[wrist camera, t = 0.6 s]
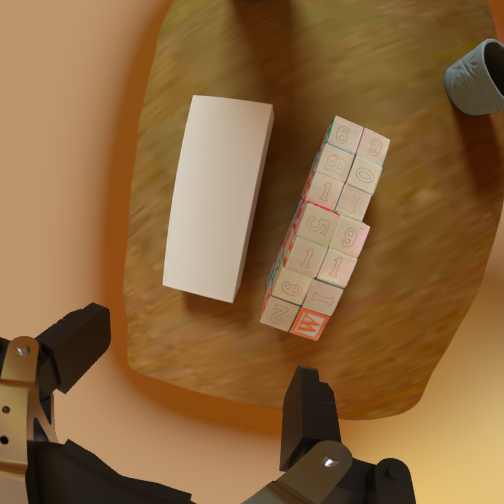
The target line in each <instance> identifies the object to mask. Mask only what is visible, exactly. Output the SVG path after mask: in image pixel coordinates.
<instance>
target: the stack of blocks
mask: <svg viewBox="0 0 504 504" xmlns="http://www.w3.org/2000/svg"><path fill="white" fill-rule="evenodd" d="M389 144H390V140H389V139H387V138H385V137H383V136H381V135H379V134H377V133H375V132H373V131H371V130H369V129H367V128H363V127H361V126H359V125H357V124H355V123H352V122H350V121H348V120H345V119H343V118H341V117H338V116H335V117H334V118H333V120H332V121H331V123H330V125H329V127H328V128H327V130H326V131H325V133H324V135H323V138H322V141H321V144H320V147H319V150H318V152H317V153H316V156H315V159H314V161H313V164H312V167H311V169H310V172H309V175H308V177H307V180H306V182H305V185H304V188H303V190H302V193H301V197H300V200H299V202H298V205H297V208H296V210H295V213H294V215H293V218H292V221H291V223H290V226H289V228H288V231H287V233H286V236H285V239H284V240H283V242H282V245H281V247H280V250H279V252H278V254H277V257H276V259H275V261H274V264H273V266H272V268H271V271H270V273H269V276H268V278H267V283H266V291H265V296H264V300H263V304H262V311H261V316H260V322H261V323H264V324H267V325H269V326H272V327H275V328H278V329H280V330H283V331H286V332H288V331H289V332H290V333H293V334H295V335H299V336H302V337H305V338H308V339H311V340H315V341H317V340H318V339H319V337H320V335H321V333H322V331H323V329H324V327H325V326H326V324H327V322H328V320H329V318H330V316H331V315H332V314H333V312H334V310H335V308H336V306H337V303H338V301H339V299H340V297H341V295H342V293H343V288H344V287H346V286H347V283H348V281H349V279H350V276H351V274H352V272H353V270H354V267H355V265H356V263H357V258H358V256H359V255H360V252H361V250H362V247H363V245H364V242H365V240H366V237H367V235H368V232H369V230H370V227H369V226H368V225H366V224H365V223H363V222H362V220H363V218H364V215H365V213H366V210H367V207H368V205H369V202H370V200H371V197H372V195H373V194H374V191H375V188H376V186H377V183H378V180H379V177H380V174H381V171H382V165H383V162H384V159H385V156H386V153H387V150H388V147H389Z"/></svg>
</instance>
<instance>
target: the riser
mask: <svg viewBox="0 0 504 504" xmlns="http://www.w3.org/2000/svg"><path fill="white" fill-rule="evenodd" d="M273 121H274V112H273V106H272V105H271V104H265V103H259V102H253V101H245V100H238V99H229V98H220V97H209V96H196V95H193V99H192V103H191V107H190V111H189V116H188V120H187V124H186V129H185V134H184V139H183V143H182V148H181V154H180V159H179V164H178V170H177V176H176V181H175V188H174V194H173V200H172V207H171V214H170V221H169V229H168V237H167V246H166V255H165V265H164V276H163V285H165V286H168V287H172V288H176V289H179V290H183V291H187V292H190V293H194V294H198V295H202V296H206V297H210V298H214V299H218V300H222V301H226V302H230V303H233V301H234V299H235V296H236V294H237V292H238V289H239V287H240V284H241V279H242V274H243V269H244V264H245V259H246V254H247V249H248V244H249V239H250V234H251V229H252V224H253V219H254V214H255V209H256V204H257V200H258V195H259V190H260V185H261V180H262V175H263V170H264V165H265V160H266V155H267V150H268V146H269V141H270V136H271V131H272V126H273Z"/></svg>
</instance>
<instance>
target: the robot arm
mask: <svg viewBox="0 0 504 504" xmlns="http://www.w3.org/2000/svg"><path fill="white" fill-rule="evenodd" d="M110 341H111V331H110V312H109V309H108V308H106V307H103V306H101V305H99V304H96V303H91V304H89V305H88V306H86V307H85V308H84V309H79V310H76V311H73V312H70V313H69V314H67V315H66V316H64V317H63V319H60V320H59V321H58V322H57V323H56V324H53V325H52V326H51V327H49V328H48V329H47V330H45V331H44V332H43V333H41V334H40V335H38V336H37V337H36V338H32V337H29V336H20V337H17V338H15V339H13V340H12V341H9V340H7V339H4V338H1V337H0V504H196V503H194V502H192V501H190V500H191V495H192V494H190V493H186V492H183V491H180V490H177V489H174V488H171V487H168V486H165V485H162V484H159V483H155V482H149V481H144V480H139V479H133V478H128V477H125V476H122V475H120V474H118V473H117V472H116V471H114V470H113V469H111V468H110V467H109V466H108V465H107V464H105V463H104V462H103V461H102V460H101V459H99V458H98V457H97V456H96V455H95V454H93V453H91V452H90V451H88V450H86V449H84V448H83V447H81V446H79V445H78V444H76V443H74V442H73V441H71V440H69V439H68V440H67V441H66V443H65V444H60V443H58V440H57V436H56V432H55V419H54V395H53V391H54V390H55V389H58V390H59V391H61V392H62V393H64V394H66V393H67V392H68V391H69V390H70V389H71V388H72V386H73V385H74V384H75V383H76V382H77V381H78V380H79V379H80V378H81V377H82V376H83V375H84V374H85V372H86V371H87V370H88V369H89V368H90V367H91V366H92V365H93V364H94V363H95V362H96V361H97V360H98V358H100V357H101V356H102V354H104V353H105V351H106V350H107V348H108V347H109V345H110ZM336 411H337V410H336V405H335V398H334V392H333V391H332V389H331V388H330V387H329V385H328V384H327V383H323V382H319V374H318V369H316V368H310V367H305V366H298V367H297V369H296V371H295V374H294V376H293V378H292V381H291V383H290V385H289V388H288V390H287V392H286V395H285V399H284V404H283V421H282V439H281V455H280V469H279V470H280V471H284V472H286V473H284V474H283V475H282V476H281V477H280V478H278V479H277V480H276V481H272V482H271V483H269V484H267V485H266V486H265V487H263V488H262V489H261V490H260V491H258V492H257V493H255V494H254V495H253V496H251V497H250V498H249V499H247V500H246V501H244V502H243V503H241V504H416V500H415V495H414V490H413V484H412V480H411V475H410V471H409V469H408V467H407V466H406V465H405V464H404V463H403V462H402V461H400V460H398V459H394V458H387V459H383V460H381V461H380V462H379V463H378V464H377V465H375V464H371V463H367V462H364V461H360V460H357V459H355V458H353V457H352V454H351V452H350V451H349V449H348V448H347V447H346V446H344V445H343V444H342V443H341V436H340V430H339V423H338V416H337V413H336Z"/></svg>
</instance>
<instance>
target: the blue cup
mask: <svg viewBox="0 0 504 504" xmlns="http://www.w3.org/2000/svg"><path fill="white" fill-rule="evenodd" d="M444 83H445V87H446V91H447V93H448V95H449V97H450V99H451V100H452V102H453V103H454V104H455V106H456V107H457V108H458V109H459V110H461V111H462V112H463V113H465V114H468V115H473V116H474V115H483V114H489V113H496V112H504V45H503V44H502V43H500V42H499V41H497V40H494V39H487V40H485V41H484V42H482V43H481V44H480V45H478V46H477V47H476V48H475V49H474V50H472V51H471V52H469V53H468V54H467V55H465V56H464V57H463V59H460V60H459V61H457V62H456V63H455V64H453V65H452V66H451V67H449V68H448V69H447V71H446V73H445V76H444Z"/></svg>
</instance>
